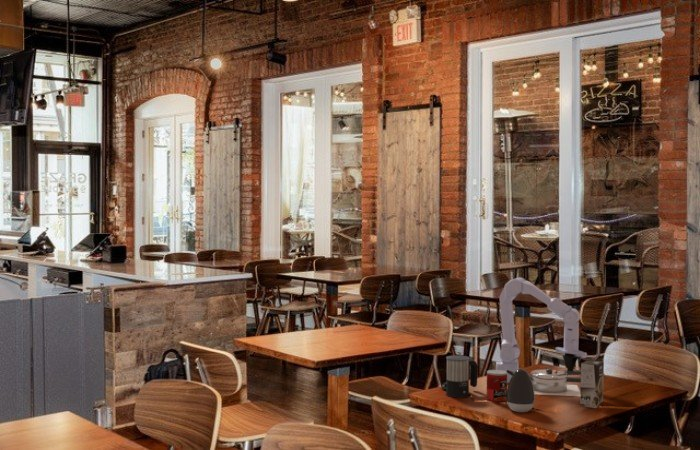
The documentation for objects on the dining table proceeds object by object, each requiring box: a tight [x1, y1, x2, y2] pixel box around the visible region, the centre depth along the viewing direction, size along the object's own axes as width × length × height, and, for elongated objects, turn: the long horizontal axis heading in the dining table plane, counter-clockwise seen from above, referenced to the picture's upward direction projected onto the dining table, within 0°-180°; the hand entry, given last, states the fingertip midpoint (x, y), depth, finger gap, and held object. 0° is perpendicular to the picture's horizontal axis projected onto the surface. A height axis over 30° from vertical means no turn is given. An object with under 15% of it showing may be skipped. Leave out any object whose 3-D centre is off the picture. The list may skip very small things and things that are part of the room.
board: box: [534, 384, 581, 397], centre depth 330 cm, size 20×20×1 cm
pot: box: [529, 374, 581, 393], centre depth 329 cm, size 25×14×6 cm, turn 81°
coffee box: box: [579, 359, 605, 409], centre depth 309 cm, size 9×6×16 cm
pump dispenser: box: [505, 368, 536, 413], centre depth 299 cm, size 10×10×15 cm
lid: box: [530, 368, 581, 379], centre depth 330 cm, size 22×14×2 cm, turn 96°
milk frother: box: [440, 355, 479, 399], centre depth 326 cm, size 14×16×15 cm
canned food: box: [486, 369, 508, 404], centre depth 314 cm, size 8×8×11 cm
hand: (570, 372), depth 333 cm, fingers closed, pressing on lid
